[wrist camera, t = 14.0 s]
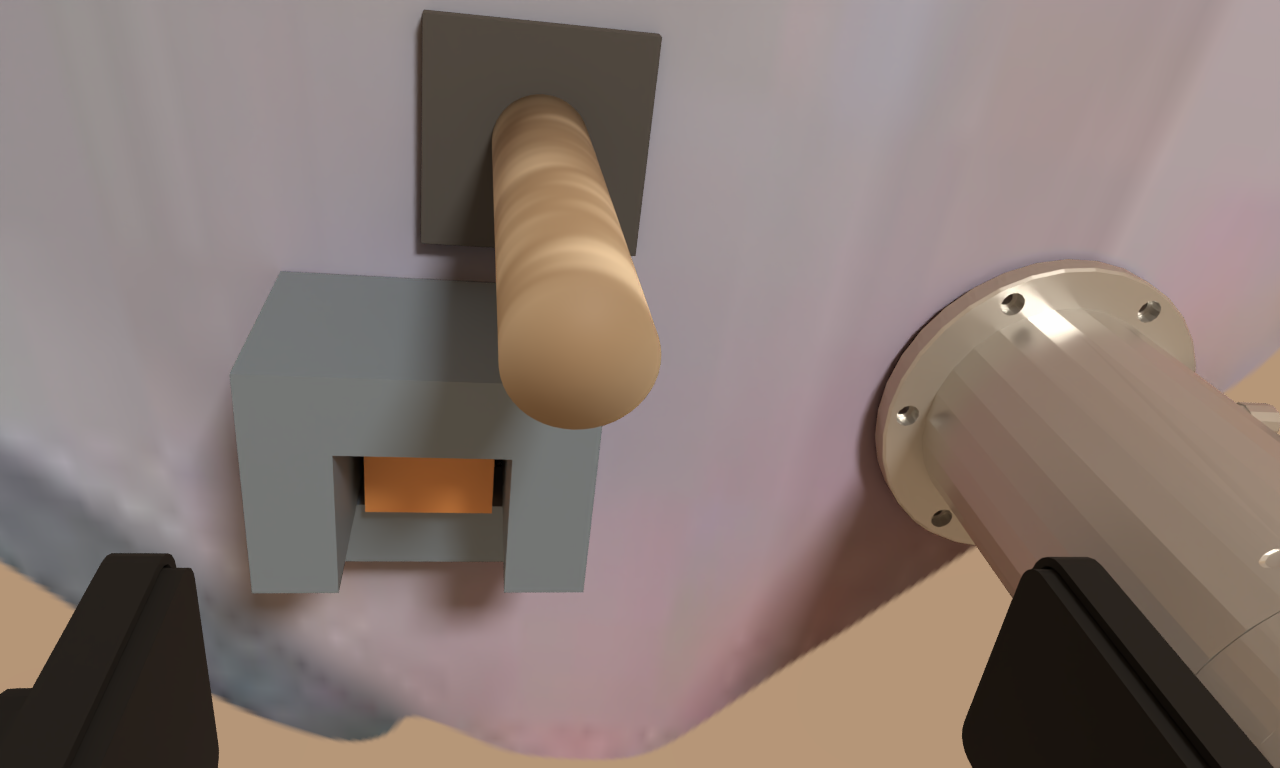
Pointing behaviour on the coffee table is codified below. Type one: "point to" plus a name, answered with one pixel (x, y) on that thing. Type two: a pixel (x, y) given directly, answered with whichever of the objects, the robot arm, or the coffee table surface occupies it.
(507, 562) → the switch box
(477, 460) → the button
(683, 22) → the coffee table surface
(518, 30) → the mat
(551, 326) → the stylus
